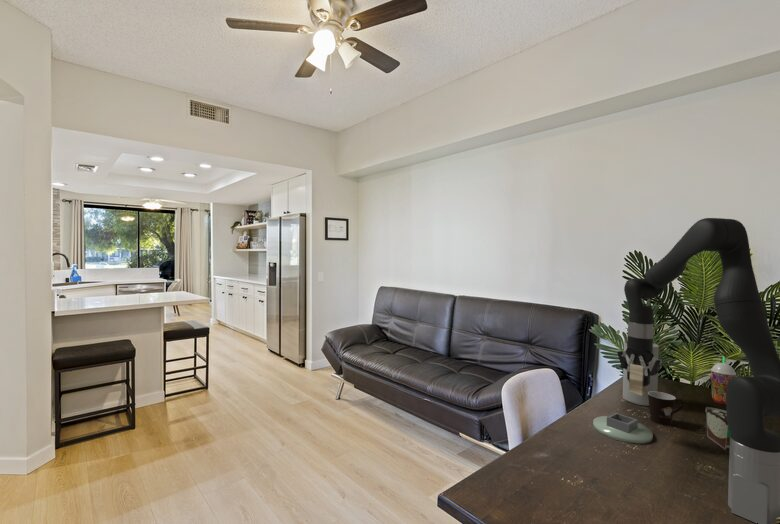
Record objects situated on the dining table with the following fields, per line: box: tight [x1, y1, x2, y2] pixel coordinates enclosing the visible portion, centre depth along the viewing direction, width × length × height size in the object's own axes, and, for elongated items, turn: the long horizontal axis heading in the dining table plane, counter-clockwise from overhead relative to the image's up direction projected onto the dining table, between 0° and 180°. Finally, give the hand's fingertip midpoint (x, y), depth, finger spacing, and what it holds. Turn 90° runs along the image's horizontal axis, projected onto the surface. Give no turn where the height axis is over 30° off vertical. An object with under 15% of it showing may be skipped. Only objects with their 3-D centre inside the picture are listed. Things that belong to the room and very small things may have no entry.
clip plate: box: [592, 412, 654, 445], centre depth 133 cm, size 18×18×4 cm
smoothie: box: [710, 356, 737, 406], centre depth 162 cm, size 8×8×20 cm
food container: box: [705, 406, 730, 451], centre depth 125 cm, size 12×6×10 cm, turn 168°
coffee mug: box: [648, 391, 684, 426], centre depth 141 cm, size 12×9×10 cm
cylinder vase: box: [622, 340, 660, 407], centre depth 162 cm, size 12×12×25 cm
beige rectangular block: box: [629, 363, 647, 396], centre depth 131 cm, size 4×4×10 cm
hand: (638, 383), depth 131 cm, fingers closed on beige rectangular block, 4 cm apart
